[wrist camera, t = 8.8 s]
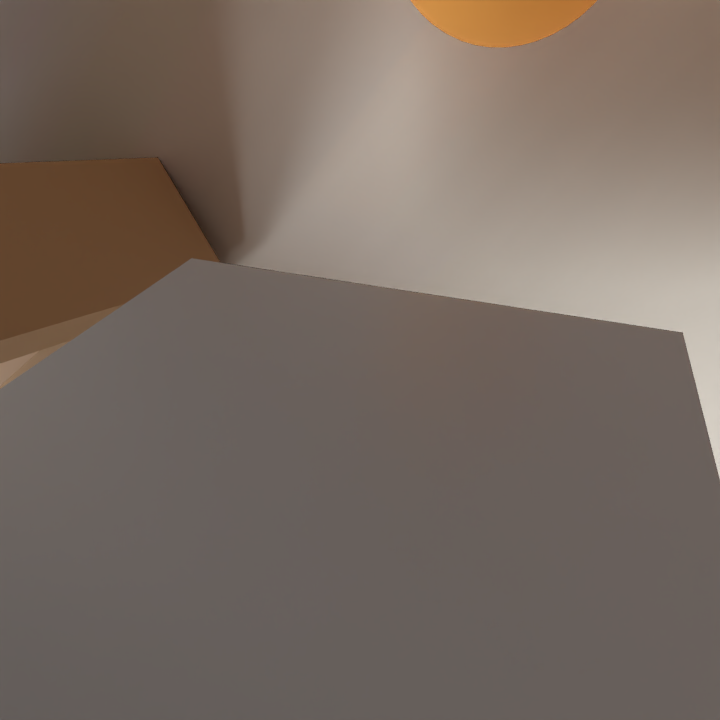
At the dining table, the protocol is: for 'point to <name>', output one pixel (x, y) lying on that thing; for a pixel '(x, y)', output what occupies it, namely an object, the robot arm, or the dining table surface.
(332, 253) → the dining table surface
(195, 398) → the grey block
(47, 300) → the photo frame
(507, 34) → the ball
